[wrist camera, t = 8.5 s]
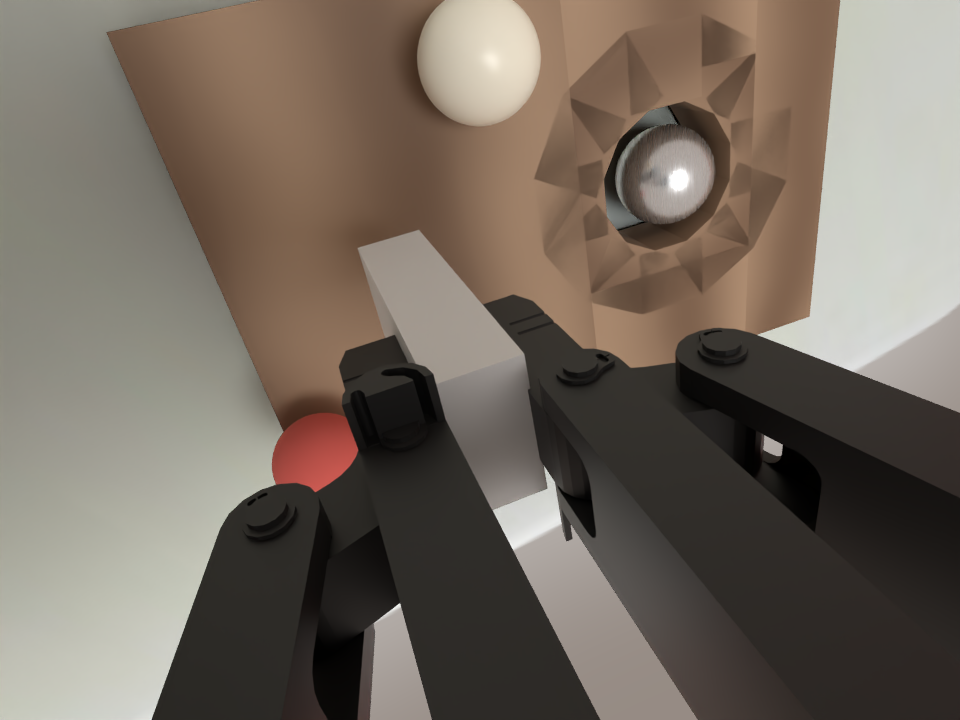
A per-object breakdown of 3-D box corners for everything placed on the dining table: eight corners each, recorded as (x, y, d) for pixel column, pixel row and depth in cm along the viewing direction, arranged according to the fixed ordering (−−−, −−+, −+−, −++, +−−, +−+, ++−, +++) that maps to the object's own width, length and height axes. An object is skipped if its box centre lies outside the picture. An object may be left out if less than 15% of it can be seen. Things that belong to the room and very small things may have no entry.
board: (305, 448, 23) (309, 490, 21) (127, 32, 16) (106, 32, 14) (765, 293, 26) (809, 316, 24) (787, -108, 19) (852, -125, 17)
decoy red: (290, 484, 21) (293, 547, 18) (257, 413, 19) (256, 471, 17) (376, 454, 21) (392, 512, 19) (351, 382, 20) (364, 434, 17)
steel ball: (613, 242, 21) (715, 235, 20) (604, 146, 19) (715, 132, 18) (624, 208, 23) (715, 200, 22) (617, 120, 22) (715, 107, 20)
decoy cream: (421, 131, 17) (449, 148, 14) (392, 6, 15) (418, 0, 13) (523, 104, 17) (567, 116, 15) (505, -19, 16) (552, -29, 13)
